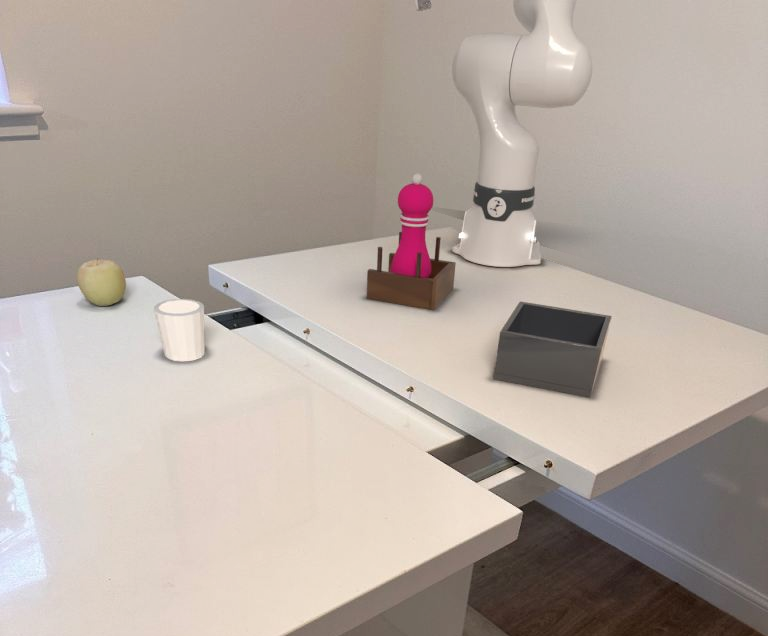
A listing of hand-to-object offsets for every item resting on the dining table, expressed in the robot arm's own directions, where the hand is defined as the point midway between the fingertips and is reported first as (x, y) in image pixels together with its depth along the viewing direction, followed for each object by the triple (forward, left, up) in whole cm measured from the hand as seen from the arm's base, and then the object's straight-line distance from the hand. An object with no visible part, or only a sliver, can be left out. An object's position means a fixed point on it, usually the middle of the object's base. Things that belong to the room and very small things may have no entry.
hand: (447, 4), depth 102 cm
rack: (-2, -4, -43) cm, 43 cm away
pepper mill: (-2, -4, -43) cm, 43 cm away
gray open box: (+20, +25, -43) cm, 54 cm away
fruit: (+26, -48, -43) cm, 69 cm away
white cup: (+38, -25, -43) cm, 63 cm away
